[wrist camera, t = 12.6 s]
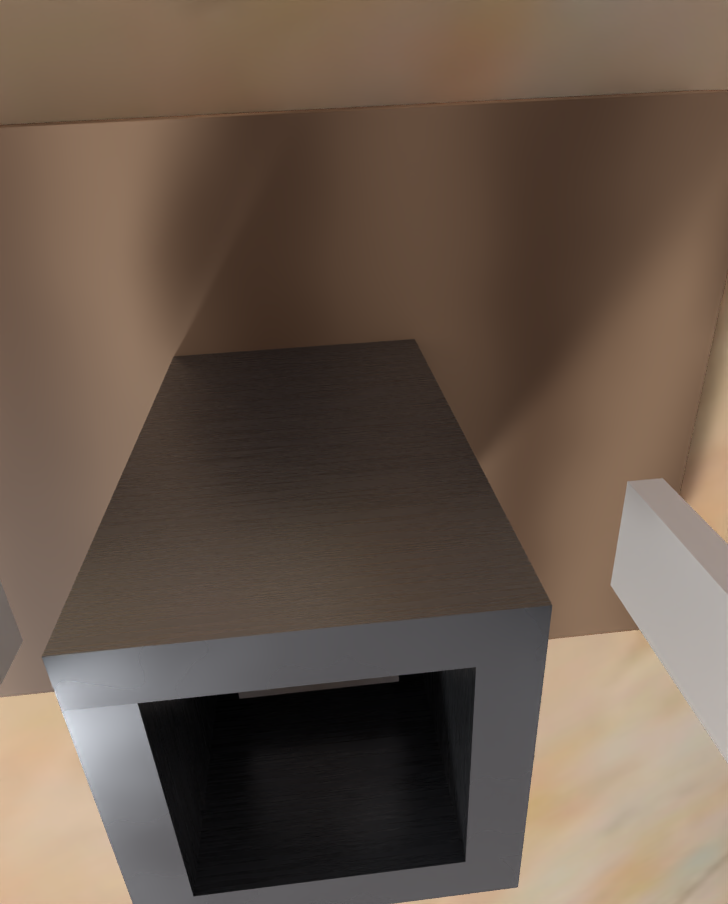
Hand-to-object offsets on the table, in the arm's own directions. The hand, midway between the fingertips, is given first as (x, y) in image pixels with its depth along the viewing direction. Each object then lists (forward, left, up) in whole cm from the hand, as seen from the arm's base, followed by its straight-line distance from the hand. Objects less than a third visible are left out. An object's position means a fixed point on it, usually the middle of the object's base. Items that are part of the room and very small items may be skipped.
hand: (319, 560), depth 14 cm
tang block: (0, 0, -8) cm, 8 cm away
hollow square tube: (0, 0, -5) cm, 5 cm away
